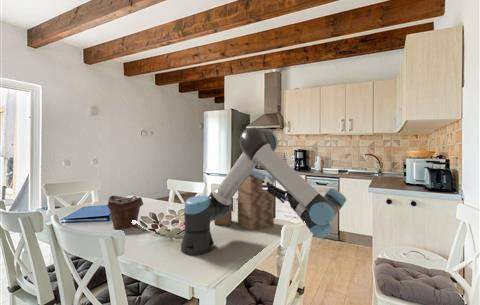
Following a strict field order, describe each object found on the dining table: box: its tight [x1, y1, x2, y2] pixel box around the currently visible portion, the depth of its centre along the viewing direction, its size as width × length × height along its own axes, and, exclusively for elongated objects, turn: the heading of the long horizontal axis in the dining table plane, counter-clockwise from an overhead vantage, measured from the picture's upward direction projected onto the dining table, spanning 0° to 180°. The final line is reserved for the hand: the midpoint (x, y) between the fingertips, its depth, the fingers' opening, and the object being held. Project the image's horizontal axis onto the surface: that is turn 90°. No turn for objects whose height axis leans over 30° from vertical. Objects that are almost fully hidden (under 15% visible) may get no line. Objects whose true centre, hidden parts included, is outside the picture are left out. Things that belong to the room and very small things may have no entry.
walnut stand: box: [237, 174, 275, 231], centre depth 151 cm, size 16×16×32 cm
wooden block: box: [213, 203, 233, 226], centre depth 153 cm, size 10×10×20 cm
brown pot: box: [107, 195, 144, 229], centre depth 149 cm, size 18×20×18 cm
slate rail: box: [250, 167, 276, 184], centre depth 143 cm, size 4×26×4 cm, turn 45°
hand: (276, 177), depth 124 cm, fingers open, 13 cm apart
